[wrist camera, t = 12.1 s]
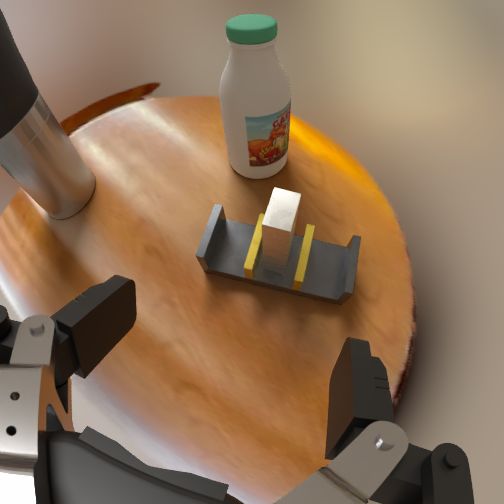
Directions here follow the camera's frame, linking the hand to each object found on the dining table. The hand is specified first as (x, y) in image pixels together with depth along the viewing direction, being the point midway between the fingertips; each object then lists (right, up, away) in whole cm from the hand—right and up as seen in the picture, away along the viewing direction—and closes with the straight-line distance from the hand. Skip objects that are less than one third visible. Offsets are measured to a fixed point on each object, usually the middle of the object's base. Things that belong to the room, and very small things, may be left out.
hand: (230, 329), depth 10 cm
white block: (+3, +2, +21) cm, 22 cm away
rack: (+4, +2, +23) cm, 23 cm away
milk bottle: (+2, +15, +29) cm, 32 cm away
